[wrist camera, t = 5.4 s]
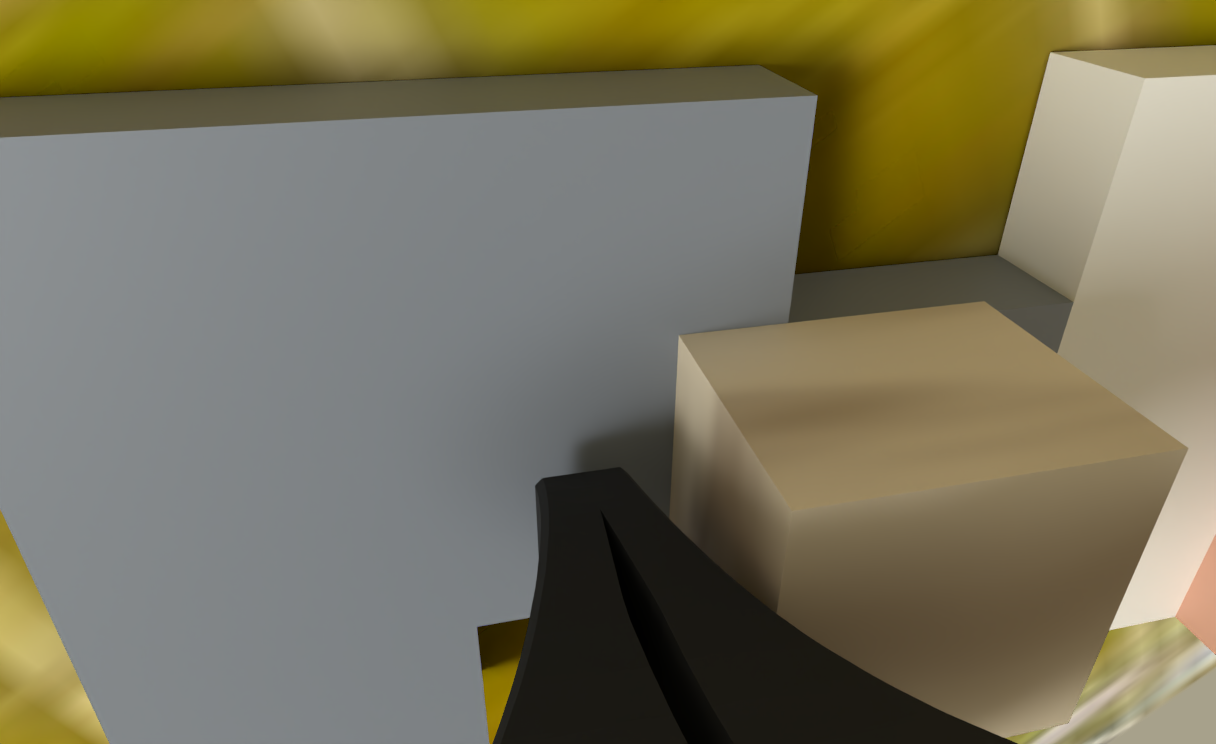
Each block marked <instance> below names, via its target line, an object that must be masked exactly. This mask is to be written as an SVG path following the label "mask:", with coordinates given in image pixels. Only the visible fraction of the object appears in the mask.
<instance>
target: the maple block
mask: <svg viewBox="0 0 1216 744" xmlns="http://www.w3.org/2000/svg"><path fill="white" fill-rule="evenodd" d="M1188 449H1189V448H1188V447H1186V446H1185V445H1183V444H1182V443H1181V442H1179V441H1178V440H1176V439H1175V438H1174V437H1172V436H1171V435H1169V434H1168V433H1167V432H1165V431H1164V430H1163V429H1161V428H1160V427H1158V426H1157V425H1156V424H1154V423H1153V422H1151V421H1150V420H1149V419H1147V418H1146V417H1144V416H1143V415H1142V414H1140V413H1139V412H1138V411H1136V410H1135V409H1133V408H1132V407H1131V406H1129V405H1128V404H1126V403H1125V402H1124V401H1122V400H1121V399H1119V398H1118V397H1117V396H1115V395H1114V394H1113V393H1111V392H1110V391H1108V390H1107V389H1106V388H1104V387H1103V386H1101V385H1100V384H1099V383H1097V382H1096V381H1094V380H1093V379H1092V378H1090V377H1089V376H1088V375H1086V374H1085V373H1083V372H1082V371H1081V370H1079V369H1078V368H1076V367H1075V366H1074V365H1072V364H1071V363H1069V362H1068V361H1067V360H1065V359H1064V358H1062V357H1061V356H1060V355H1058V354H1057V353H1056V352H1054V351H1053V350H1051V349H1050V348H1049V347H1047V346H1046V345H1044V344H1043V343H1042V342H1040V341H1039V340H1037V339H1036V338H1035V337H1033V336H1032V335H1031V334H1029V333H1028V332H1026V331H1025V330H1024V329H1022V328H1021V327H1019V326H1018V325H1017V324H1015V323H1014V322H1012V321H1011V320H1010V319H1008V318H1007V317H1006V316H1004V315H1003V314H1001V313H1000V312H999V311H997V310H996V309H994V308H993V307H992V306H990V305H989V304H987V303H986V302H985V301H982V302H973V303H964V304H955V305H946V306H937V307H928V308H919V309H910V310H901V311H892V312H883V313H874V314H865V315H856V316H847V317H838V318H829V319H820V320H811V321H802V322H793V323H784V324H775V325H766V326H757V327H748V328H739V329H730V330H721V331H712V332H703V333H694V334H685V335H679V341H678V361H677V380H676V399H675V418H674V438H673V457H672V476H671V495H670V515H669V519H670V520H671V521H672V522H673V523H674V524H675V525H676V526H677V527H678V528H679V529H680V530H681V531H682V532H683V533H684V534H685V535H686V536H687V537H688V538H689V539H690V540H691V541H692V542H694V543H695V544H696V545H697V546H698V547H699V548H700V549H701V550H702V551H703V552H704V553H705V554H706V555H707V556H708V557H709V558H710V559H711V560H713V561H714V562H715V563H716V564H717V565H718V566H719V567H720V568H721V569H723V570H724V571H725V572H726V573H727V574H728V575H729V576H731V577H732V578H733V579H734V580H735V581H737V582H738V583H739V584H740V585H741V586H742V587H744V588H745V589H746V590H747V591H748V592H750V593H751V594H752V595H753V596H755V597H756V598H757V599H758V600H760V601H761V602H762V603H763V604H765V605H766V606H767V607H769V608H770V609H771V610H773V611H774V612H775V613H776V614H778V615H779V616H781V617H782V618H783V619H785V620H786V621H788V622H789V623H790V624H792V625H793V626H794V627H796V628H797V629H799V630H800V631H801V632H803V633H804V634H806V635H807V636H809V637H810V638H812V639H813V640H815V641H816V642H818V643H820V644H821V645H823V646H824V647H826V648H827V649H829V650H831V651H833V652H834V653H836V654H838V655H839V656H841V657H843V658H844V659H846V660H848V661H849V662H851V663H853V664H854V665H856V666H858V667H859V668H861V669H863V670H864V671H866V672H868V673H870V674H871V675H873V676H875V677H877V678H878V679H880V680H882V681H884V682H886V683H888V684H889V685H891V686H893V687H895V688H897V689H899V690H901V691H903V692H905V693H907V694H909V695H911V696H913V697H915V698H917V699H919V700H921V701H923V702H925V703H927V704H929V705H931V706H933V707H935V708H937V709H939V710H941V711H943V712H945V713H947V714H949V715H952V716H954V717H956V718H959V719H961V720H963V721H966V722H968V723H970V724H973V725H975V726H977V727H980V728H982V729H984V730H987V731H989V732H991V733H994V734H996V735H998V736H1001V737H1003V738H1006V737H1010V736H1015V735H1019V734H1023V733H1028V732H1032V731H1037V730H1041V729H1045V728H1050V727H1054V726H1059V725H1063V724H1067V723H1069V721H1070V719H1071V716H1072V714H1073V712H1074V709H1075V707H1076V705H1077V703H1078V700H1079V698H1080V696H1081V693H1082V691H1083V689H1084V686H1085V684H1086V682H1087V680H1088V677H1089V675H1090V673H1091V670H1092V668H1093V666H1094V664H1095V661H1096V659H1097V657H1098V654H1099V652H1100V650H1101V648H1102V645H1103V643H1104V641H1105V638H1106V636H1107V634H1108V632H1109V629H1110V627H1111V625H1112V622H1113V620H1114V618H1115V616H1116V613H1117V611H1118V609H1119V606H1120V604H1121V602H1122V600H1123V597H1124V595H1125V593H1126V590H1127V588H1128V586H1129V584H1130V581H1131V579H1132V577H1133V574H1134V572H1135V570H1136V568H1137V565H1138V563H1139V561H1140V558H1141V556H1142V554H1143V551H1144V549H1145V547H1146V545H1147V542H1148V540H1149V538H1150V535H1151V533H1152V531H1153V529H1154V526H1155V524H1156V522H1157V519H1158V517H1159V515H1160V513H1161V510H1162V508H1163V506H1164V503H1165V501H1166V499H1167V497H1168V494H1169V492H1170V490H1171V487H1172V485H1173V483H1174V481H1175V478H1176V476H1177V474H1178V471H1179V469H1180V467H1181V465H1182V462H1183V460H1184V458H1185V455H1186V453H1187V451H1188Z"/></svg>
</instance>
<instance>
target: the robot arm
mask: <svg viewBox="0 0 1216 744" xmlns="http://www.w3.org/2000/svg"><path fill="white" fill-rule="evenodd" d="M535 496H536V515H537V534H538V553H539V561H538V570H537V579H536V586H535V592H534V597H533V602H532V607H531V613H530V618H529V623H528V628H527V633H526V637H525V641H524V645H523V649H522V653H521V657H520V661H519V664H518V668H517V671H516V675H515V678H514V682H513V685H512V688H511V691H510V695H509V698H508V701H507V704H506V707H505V710H504V713H503V716H502V719H501V722H500V725H499V728H498V730H497V733H496V736H495V739H494V741H493V744H1017V743H1015V742H1012V741H1010V740H1008V739H1005V738H1003V737H1001V736H998V735H996V734H994V733H991V732H989V731H987V730H984V729H982V728H980V727H977V726H975V725H973V724H970V723H968V722H966V721H963V720H961V719H959V718H956V717H954V716H952V715H949V714H947V713H945V712H943V711H941V710H939V709H937V708H935V707H933V706H931V705H929V704H927V703H925V702H923V701H921V700H919V699H917V698H915V697H913V696H911V695H909V694H907V693H905V692H903V691H901V690H899V689H897V688H895V687H893V686H891V685H889V684H888V683H886V682H884V681H882V680H880V679H878V678H877V677H875V676H873V675H871V674H870V673H868V672H866V671H864V670H863V669H861V668H859V667H858V666H856V665H854V664H853V663H851V662H849V661H848V660H846V659H844V658H843V657H841V656H839V655H838V654H836V653H834V652H833V651H831V650H829V649H827V648H826V647H824V646H823V645H821V644H820V643H818V642H816V641H815V640H813V639H812V638H810V637H809V636H807V635H806V634H804V633H803V632H801V631H800V630H799V629H797V628H796V627H794V626H793V625H792V624H790V623H789V622H788V621H786V620H785V619H783V618H782V617H781V616H779V615H778V614H776V613H775V612H774V611H773V610H771V609H770V608H769V607H767V606H766V605H765V604H763V603H762V602H761V601H760V600H758V599H757V598H756V597H755V596H753V595H752V594H751V593H750V592H748V591H747V590H746V589H745V588H744V587H742V586H741V585H740V584H739V583H738V582H737V581H735V580H734V579H733V578H732V577H731V576H729V575H728V574H727V573H726V572H725V571H724V570H723V569H721V568H720V567H719V566H718V565H717V564H716V563H715V562H714V561H713V560H711V559H710V558H709V557H708V556H707V555H706V554H705V553H704V552H703V551H702V550H701V549H700V548H699V547H698V546H697V545H696V544H695V543H694V542H692V541H691V540H690V539H689V538H688V537H687V536H686V535H685V534H684V533H683V532H682V531H681V530H680V529H679V528H678V527H677V526H676V525H675V524H674V523H673V522H672V521H671V520H670V519H669V518H668V517H667V516H666V515H665V514H664V512H663V511H662V510H661V509H660V508H659V507H658V506H657V505H656V504H655V503H654V502H653V501H652V500H651V499H650V498H649V496H648V495H647V494H646V493H645V492H644V491H643V490H642V489H641V488H640V486H639V485H638V484H637V483H636V482H635V481H634V480H633V478H632V477H631V476H630V475H629V474H628V473H627V472H626V471H625V470H624V469H622V468H621V467H616V468H609V469H602V470H595V471H588V472H581V473H574V474H567V475H560V476H553V477H546V478H542V479H541V480H540V481H539V482H538V483H537V484H536V485H535Z"/></svg>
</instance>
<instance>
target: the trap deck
mask: <svg viewBox="0 0 1216 744" xmlns="http://www.w3.org/2000/svg"><path fill="white" fill-rule="evenodd" d="M817 97H818V95H816V94H814V93H812V92H810V91H808V90H806V89H804V88H802V87H800V86H798V85H797V84H795V83H793V82H791V81H789V80H787V79H785V78H783V77H781V76H779V75H777V74H775V73H773V72H772V71H770V70H768V69H766V68H764V67H762V66H760V65H745V66H721V67H698V68H675V69H652V70H629V71H606V72H582V73H559V74H536V75H513V76H490V77H466V78H443V79H420V80H397V81H374V82H351V83H327V84H304V85H281V86H258V87H235V88H212V89H188V90H165V91H142V92H119V93H96V94H73V95H49V96H26V97H3V98H0V509H1V511H2V514H3V516H4V518H5V520H6V522H7V524H8V526H9V529H10V531H11V533H12V535H13V537H14V539H15V542H16V544H17V546H18V548H19V550H20V552H21V554H22V557H23V559H24V561H25V563H26V565H27V567H28V569H29V572H30V574H31V576H32V578H33V580H34V582H35V584H36V587H37V589H38V591H39V593H40V595H41V597H42V599H43V602H44V604H45V606H46V608H47V610H48V612H49V615H50V617H51V619H52V621H53V623H54V625H55V627H56V630H57V632H58V634H59V636H60V638H61V640H62V642H63V645H64V647H65V649H66V651H67V653H68V655H69V657H70V660H71V662H72V664H73V666H74V668H75V670H76V673H77V675H78V677H79V679H80V681H81V683H82V685H83V688H84V690H85V692H86V694H87V696H88V698H89V700H90V703H91V705H92V707H93V709H94V711H95V713H96V715H97V718H98V720H99V722H100V724H101V726H102V728H103V731H104V733H105V735H106V737H107V739H108V741H109V743H110V744H489V738H488V728H487V718H486V709H485V699H484V689H483V680H482V670H481V661H480V651H479V641H478V632H477V627H479V626H484V625H490V624H496V623H502V622H507V621H513V620H519V619H525V618H530V613H531V607H532V602H533V597H534V592H535V586H536V579H537V570H538V561H539V553H538V534H537V515H536V496H535V485H536V484H537V483H538V482H539V481H540V480H541V479H542V478H546V477H553V476H560V475H567V474H574V473H581V472H588V471H595V470H602V469H609V468H616V467H621V468H622V469H624V470H625V471H626V472H627V473H628V474H629V475H630V476H631V477H632V478H633V480H634V481H635V482H636V483H637V484H638V485H639V486H640V488H641V489H642V490H643V491H644V492H645V493H646V494H647V495H648V496H649V498H650V499H651V500H652V501H653V502H654V503H655V504H656V505H657V506H658V507H659V508H660V509H661V510H662V511H663V512H664V514H665V515H666V516H667V517H668V518H669V515H670V495H671V476H672V457H673V438H674V418H675V399H676V380H677V361H678V341H679V335H685V334H694V333H703V332H712V331H721V330H730V329H739V328H748V327H757V326H766V325H775V324H784V323H793V322H802V321H811V320H820V319H829V318H838V317H847V316H856V315H865V314H874V313H883V312H892V311H901V310H910V309H919V308H928V307H937V306H946V305H955V304H964V303H973V302H982V301H985V302H986V303H987V304H989V305H990V306H992V307H993V308H994V309H996V310H997V311H999V312H1000V313H1001V314H1003V315H1004V316H1006V317H1007V318H1008V319H1010V320H1011V321H1012V322H1014V323H1015V324H1017V325H1018V326H1019V327H1021V328H1022V329H1024V330H1025V331H1026V332H1028V333H1029V334H1031V335H1032V336H1033V337H1035V338H1036V339H1037V340H1039V341H1040V342H1042V343H1043V344H1044V345H1046V346H1047V347H1049V348H1050V349H1051V350H1053V351H1054V352H1056V353H1057V354H1058V355H1060V356H1061V357H1062V358H1064V359H1065V360H1067V361H1068V362H1069V363H1071V364H1072V365H1074V366H1075V367H1076V368H1078V369H1079V370H1081V371H1082V372H1083V373H1085V374H1086V375H1088V376H1089V377H1090V378H1092V379H1093V380H1094V381H1096V382H1097V383H1099V384H1100V385H1101V386H1103V387H1104V388H1106V389H1107V390H1108V391H1110V392H1111V393H1113V394H1114V395H1115V396H1117V397H1118V398H1119V399H1121V400H1122V401H1124V402H1125V403H1126V404H1128V405H1129V406H1131V407H1132V408H1133V409H1135V410H1136V411H1138V412H1139V413H1140V414H1142V415H1143V416H1144V417H1146V418H1147V419H1149V420H1150V421H1151V422H1153V423H1154V424H1156V425H1157V426H1158V427H1160V428H1161V429H1163V430H1164V431H1165V432H1167V433H1168V434H1169V435H1171V436H1172V437H1174V438H1175V439H1176V440H1178V441H1179V442H1181V443H1182V444H1183V445H1185V446H1186V447H1188V448H1189V449H1188V451H1187V453H1186V455H1185V458H1184V460H1183V462H1182V465H1181V467H1180V469H1179V471H1178V474H1177V476H1176V478H1175V481H1174V483H1173V485H1172V487H1171V490H1170V492H1169V494H1168V497H1167V499H1166V501H1165V503H1164V506H1163V508H1162V510H1161V513H1160V515H1159V517H1158V519H1157V522H1156V524H1155V526H1154V529H1153V531H1152V533H1151V535H1150V538H1149V540H1148V542H1147V545H1146V547H1145V549H1144V551H1143V554H1142V556H1141V558H1140V561H1139V563H1138V565H1137V568H1136V570H1135V572H1134V574H1133V577H1132V579H1131V581H1130V584H1129V586H1128V588H1127V590H1126V593H1125V595H1124V597H1123V600H1122V602H1121V604H1120V606H1119V609H1118V611H1117V613H1116V616H1115V618H1114V620H1113V622H1112V625H1111V627H1110V629H1109V630H1112V629H1117V628H1122V627H1127V626H1132V625H1137V624H1142V623H1146V622H1151V621H1156V620H1161V619H1166V618H1171V617H1176V618H1177V619H1178V620H1179V621H1180V622H1181V623H1182V624H1184V625H1185V626H1186V627H1187V628H1188V629H1189V630H1190V631H1191V632H1192V633H1193V634H1194V635H1195V636H1196V637H1197V638H1198V639H1199V640H1201V641H1202V642H1203V643H1204V644H1205V645H1206V646H1207V647H1208V648H1209V649H1210V650H1211V651H1212V652H1213V653H1214V654H1215V655H1216V45H1208V46H1185V47H1162V48H1138V49H1115V50H1092V51H1069V52H1050V56H1049V60H1048V64H1047V67H1046V71H1045V75H1044V79H1043V83H1042V87H1041V91H1040V94H1039V98H1038V102H1037V106H1036V110H1035V114H1034V117H1033V121H1032V125H1031V129H1030V133H1029V137H1028V141H1027V144H1026V148H1025V152H1024V156H1023V160H1022V164H1021V167H1020V171H1019V175H1018V179H1017V183H1016V187H1015V191H1014V194H1013V198H1012V202H1011V206H1010V210H1009V214H1008V217H1007V221H1006V225H1005V229H1004V233H1003V237H1002V241H1001V244H1000V248H999V252H998V255H990V256H980V257H970V258H959V259H949V260H939V261H929V262H918V263H908V264H898V265H887V266H877V267H867V268H857V269H846V270H836V271H826V272H815V273H805V274H795V267H796V259H797V251H798V244H799V236H800V228H801V220H802V213H803V205H804V197H805V189H806V182H807V174H808V166H809V158H810V151H811V143H812V135H813V128H814V120H815V112H816V104H817ZM794 274H795V275H794Z"/></svg>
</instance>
